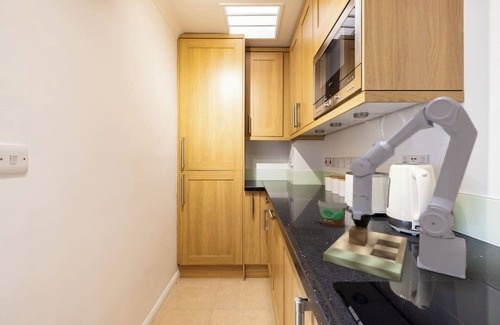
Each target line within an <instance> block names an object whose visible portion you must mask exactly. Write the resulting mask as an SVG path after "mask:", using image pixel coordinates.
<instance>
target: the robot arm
mask: <svg viewBox="0 0 500 325" xmlns="http://www.w3.org/2000/svg"><path fill="white" fill-rule="evenodd" d="M434 124H436V125H438V126H439V127H441V129H442V130H443V131H444V132H445V133H446V134H447V135H448V136H449V138H450V139H449V141H448V145H447V149H446V151H445V154H444V158H443V162H442V165H441V167H440V171H439V173H438V174H439V175H438V177H437V180H436V184H435V187H434V189H433V190H434V191H433V193H432V196H431V198H430V201H429V203H428V204H427V207H426V210H425V211H424V212H422V213H421V214H420V216H419V218H418V225H419V228H420V229H419V246H418V248H419V250H418V255H417V258H416V267H417V268H418V269H421V270H427V271H431V272H434V273H438V274H441V275H442V274H443V275H447V276H451V277H455V278H459V279H464V280H465V279H466V269H467V243H466V239H465V238H463V237H458V236H456V234H455V233H454V232H453V230H452V229H451V228H452V227H453V226H454V225H455V223H456V217H455V214H454V211H455V206H456V203H457V202H456V201H457V197H458V196H459V192H460V189H461V186H462V182H463V180H464V177H465V174H466V170H467V168H468V165H469V161H470V159H471V155H472V153H473V150H474V147H475V143H476V140H477V139H478V130H477V127H475V124H474V123H473V121H472V119H471V117H470V115H469V113H468V112H467V110H466V109H465V108H464V107H463V105H461V103H459V102H457V101H456V100H455V99H453V98H451V97H449V96H439V97H436V98H434V99H432V100H431V101H430V102H428V104H426V106H423V107H422V108H420V109H418V111H417V112H416V113H415V114H414V115H412V117H411V118H409V119H408V120H407V121H406V122H405V123H404V124H403V125H402V126H401V127H400V128H398V130H396V131H395V132H394V133H393V134H392V135H391V136H390V137H389V138H388V139H387V140H385V141H384V140H382V141H381V140H380V141H378V142H374V143H373V144H371V146H372V147H371V148H370V149H369V150H367V152H365V153H362V154H360V157H361V158H355V159H353V161H352V162H351V163H350V168H349V169H350V172H351V174H352V175H353V177H352V204H351V205H352V206H349V207H347V208H348V210H349V211H351V212H352V213H351V214H350V215H351V216H350V218H351V219H352V221H353V223H354V226H358V227H363V228H368V226H369V223H370V221H371V219H372V218H373V215H371V214H372V213H373V209H372V208H373V175H374V174H375V173H376V170H377V169H378V168H379V167H381V166H382V165H383V164H384V163H386V162H387V161H388V160H389V159H391V158H393V156H394V155H395V153H396V152H395V151H396V148H398V147H399V146H401V145H402V144H403V143H404V142H406V141H408V140H409V139H410V138H411V137H413V136H414V135H415V134H417V133H418V132H419V131H421V130H427V129H432V128H435V125H434Z"/></svg>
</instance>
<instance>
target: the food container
mask: <svg viewBox="0 0 500 325" xmlns="http://www.w3.org/2000/svg"><path fill="white" fill-rule="evenodd" d="M317 205H318V207H319V218H320V223H321V225H323V226H325V225H326V227H331V228H340V227H343V226H344V225H345V216H346V209H347V208H349V207H348V203H347V202H343V203H342V202H341V203H339V202H335V201H321V199H319V200H318V201H317Z"/></svg>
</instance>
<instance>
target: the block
mask: <svg viewBox="0 0 500 325" xmlns="http://www.w3.org/2000/svg"><path fill="white" fill-rule="evenodd" d="M348 230H349V243H350V244H354V245H359V246H363V247H365V245H366V244H367V241H368V231H369V228H368V227H367V228H363V227H358V226H355V225H352V226H351V227H349V229H348Z"/></svg>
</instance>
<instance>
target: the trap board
mask: <svg viewBox="0 0 500 325" xmlns="http://www.w3.org/2000/svg"><path fill="white" fill-rule="evenodd" d="M407 247H408V237H403V236H398V235H397V236H396V235H392V234H387V233H382V232H376V231H370V230H368V241H367V244H366V245H365V247H363V246H359V245H354V244H350V243H349V229H347V230H346V231H345V232H344V233H343V234H342V235H341V236H340V237H339V238H338V239H337V240H336V241H335V242H334V243H332V244H331V246H330V247H329V248H327V249H326V250H325V251H324V252H323V254H322V255H323V256H322V257H323V258H322V259H323V260H322V261H324V262H328V263H331V264H334V265H337V266H342V267H344V268H349V269H351V270H356V271H359V272H362V273H365V274H369V275H373V276H376V277H380V278H383V279H386V280H387V279H388V280H390V281H394V282H398V283H400V281H401V278H402V277H401V276H402V272H403V268H404V267H403V266H404V261H405V257H406V251H407Z"/></svg>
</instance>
